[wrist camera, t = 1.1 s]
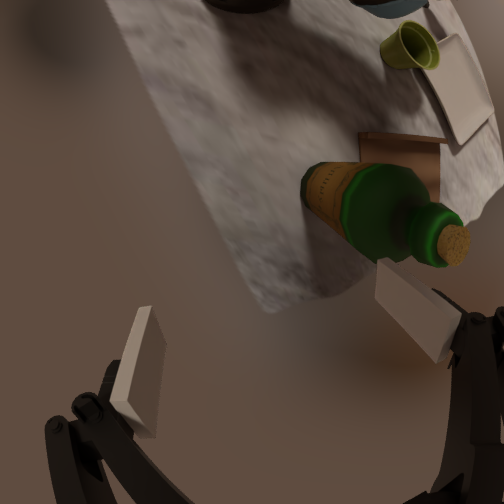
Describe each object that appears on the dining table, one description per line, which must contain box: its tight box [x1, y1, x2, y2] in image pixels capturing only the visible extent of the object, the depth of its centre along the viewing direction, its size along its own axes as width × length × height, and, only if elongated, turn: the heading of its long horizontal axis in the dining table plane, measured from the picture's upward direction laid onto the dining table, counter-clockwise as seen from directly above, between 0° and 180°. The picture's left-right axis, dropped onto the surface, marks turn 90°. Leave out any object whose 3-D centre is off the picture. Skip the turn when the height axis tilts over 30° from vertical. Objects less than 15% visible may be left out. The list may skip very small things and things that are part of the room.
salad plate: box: [420, 33, 494, 146], centre depth 37 cm, size 21×21×3 cm
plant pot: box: [380, 20, 440, 70], centre depth 31 cm, size 9×9×9 cm
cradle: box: [358, 132, 448, 203], centre depth 43 cm, size 18×20×3 cm
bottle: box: [300, 162, 470, 268], centre depth 29 cm, size 11×11×28 cm
